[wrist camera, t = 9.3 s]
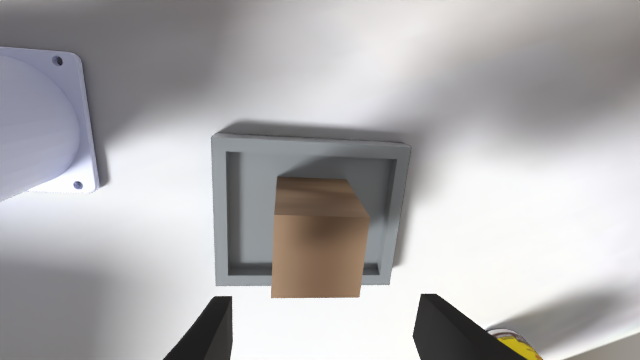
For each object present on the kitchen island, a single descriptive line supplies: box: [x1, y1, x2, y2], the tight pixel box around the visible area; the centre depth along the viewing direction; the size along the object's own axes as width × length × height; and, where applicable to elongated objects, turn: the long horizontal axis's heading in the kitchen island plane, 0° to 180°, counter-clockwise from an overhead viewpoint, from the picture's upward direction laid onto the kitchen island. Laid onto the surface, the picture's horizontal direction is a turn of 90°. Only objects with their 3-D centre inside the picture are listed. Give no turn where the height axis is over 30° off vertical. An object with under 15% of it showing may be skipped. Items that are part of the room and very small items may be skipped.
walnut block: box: [271, 176, 370, 298], centre depth 18 cm, size 4×4×6 cm
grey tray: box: [211, 133, 411, 286], centre depth 21 cm, size 12×10×2 cm
